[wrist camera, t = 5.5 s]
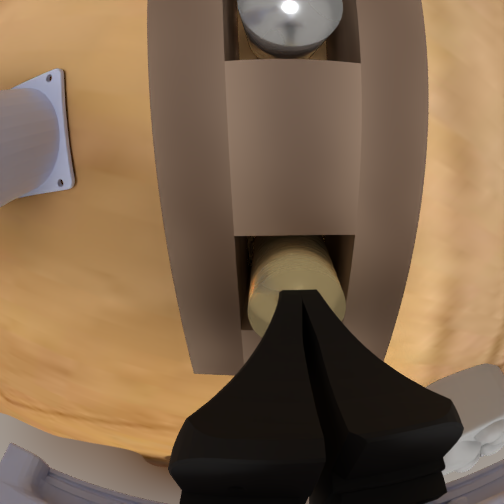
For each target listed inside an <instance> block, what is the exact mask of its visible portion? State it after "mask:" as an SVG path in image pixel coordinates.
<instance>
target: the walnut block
mask: <svg viewBox="0 0 504 504" xmlns="http://www.w3.org/2000/svg"><path fill="white" fill-rule="evenodd" d="M342 3H343V13H342V17H341V20H340V22H339V24H338V26H337V27H336V29H335V30H334V31H333V32H332V33H331V34H330V35H329V37H328V38H327V39H326V46H327V60H308V59H253V60H239V47H238V23H237V0H148V6H147V38H148V72H149V92H150V107H151V120H152V132H153V143H154V153H155V162H156V171H157V179H158V187H159V195H160V202H161V209H162V216H163V223H164V229H165V236H166V242H167V248H168V254H169V260H170V265H171V271H172V276H173V281H174V286H175V292H176V297H177V302H178V306H179V311H180V316H181V320H182V325H183V330H184V334H185V338H186V343H187V347H188V351H189V355H190V359H191V363H192V367H193V371H194V373H195V374H213V375H236V374H237V373H238V372H239V370H240V369H241V368H242V367H243V365H244V364H245V363H246V362H247V360H248V359H249V358H250V356H251V355H252V353H253V352H254V350H255V349H256V347H257V346H258V344H259V343H260V341H261V339H262V338H261V337H260V336H259V335H258V334H257V333H256V332H255V331H254V329H253V328H252V326H251V324H250V322H249V319H248V301H249V290H250V280H251V270H252V266H249V265H248V245H247V236H273V235H325V245H326V247H327V250H328V253H329V255H330V258H331V261H332V263H333V266H334V269H335V271H336V274H337V277H338V279H339V282H340V285H341V288H342V291H343V293H344V296H345V300H346V311H345V315H344V318H343V320H342V323H343V324H344V325H345V326H346V327H347V328H348V330H349V331H350V332H351V333H352V334H353V335H354V336H355V337H356V338H357V339H358V340H359V341H360V342H361V343H362V344H363V345H364V346H365V347H366V348H367V349H369V350H370V351H371V352H372V353H373V354H374V355H376V356H377V357H378V358H379V359H381V360H382V361H384V358H385V355H386V352H387V349H388V346H389V343H390V340H391V336H392V333H393V330H394V326H395V323H396V320H397V316H398V312H399V309H400V305H401V301H402V297H403V294H404V290H405V285H406V281H407V277H408V273H409V268H410V263H411V259H412V254H413V249H414V243H415V238H416V232H417V227H418V220H419V214H420V207H421V200H422V192H423V184H424V174H425V164H426V151H427V135H428V63H427V47H426V35H425V26H424V17H423V10H422V3H421V0H342Z"/></svg>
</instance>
